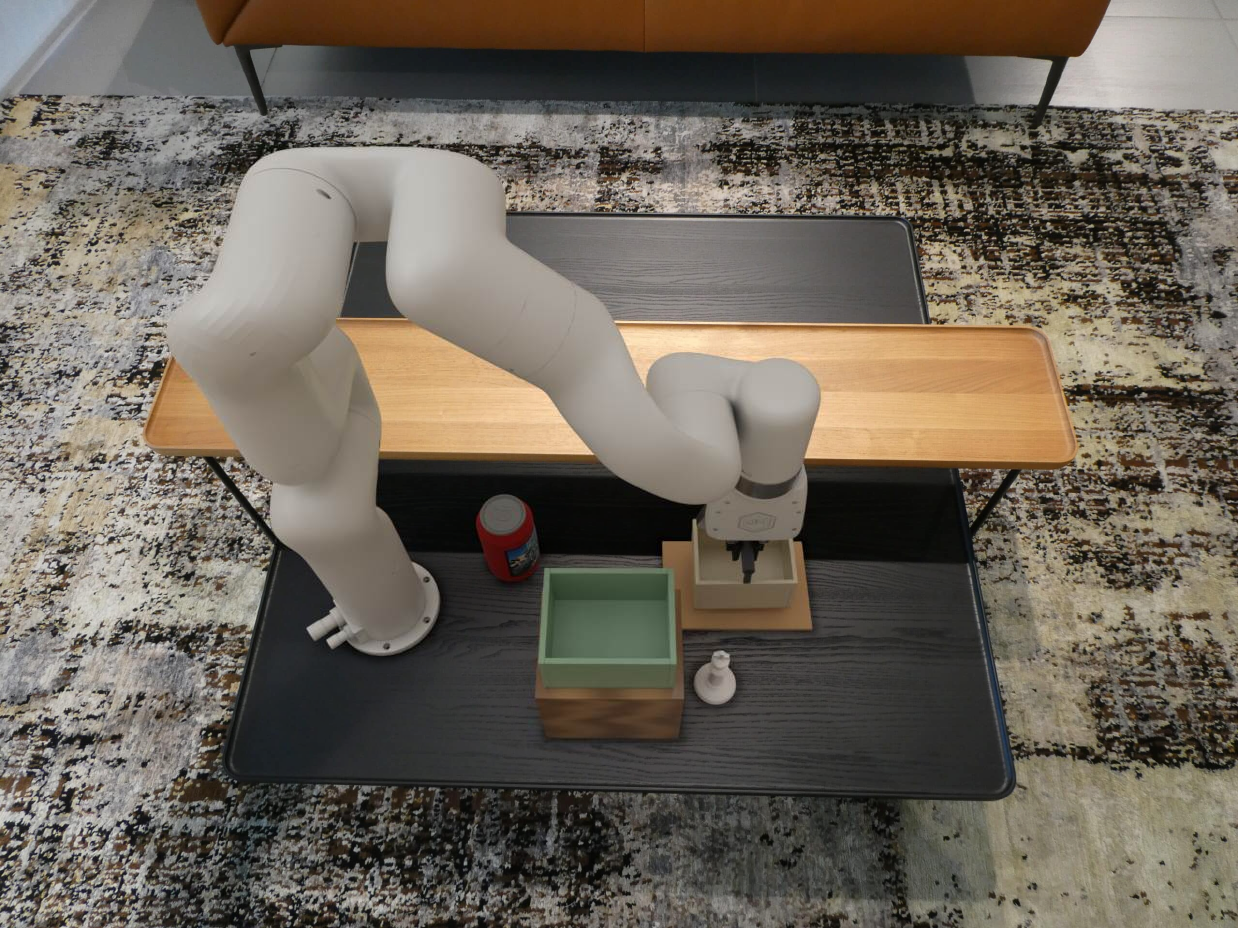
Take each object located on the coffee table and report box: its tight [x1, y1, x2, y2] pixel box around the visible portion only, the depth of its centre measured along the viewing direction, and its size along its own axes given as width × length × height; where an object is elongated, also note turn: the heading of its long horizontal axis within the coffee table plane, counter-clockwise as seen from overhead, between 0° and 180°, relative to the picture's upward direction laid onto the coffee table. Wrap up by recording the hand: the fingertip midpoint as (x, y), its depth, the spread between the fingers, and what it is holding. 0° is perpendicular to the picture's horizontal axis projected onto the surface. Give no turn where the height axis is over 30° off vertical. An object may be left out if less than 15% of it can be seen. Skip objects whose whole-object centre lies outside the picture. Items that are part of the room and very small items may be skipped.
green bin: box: [538, 567, 677, 689], centre depth 84 cm, size 13×10×7 cm
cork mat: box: [661, 540, 813, 632], centre depth 106 cm, size 18×12×1 cm, turn 89°
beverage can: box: [475, 494, 541, 582], centre depth 103 cm, size 7×7×12 cm
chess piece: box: [693, 650, 737, 705], centre depth 95 cm, size 5×5×10 cm
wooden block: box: [534, 588, 685, 740], centre depth 93 cm, size 15×12×14 cm
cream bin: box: [691, 518, 798, 609], centre depth 99 cm, size 12×9×11 cm
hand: (743, 549), depth 98 cm, fingers closed on cream bin, 1 cm apart
